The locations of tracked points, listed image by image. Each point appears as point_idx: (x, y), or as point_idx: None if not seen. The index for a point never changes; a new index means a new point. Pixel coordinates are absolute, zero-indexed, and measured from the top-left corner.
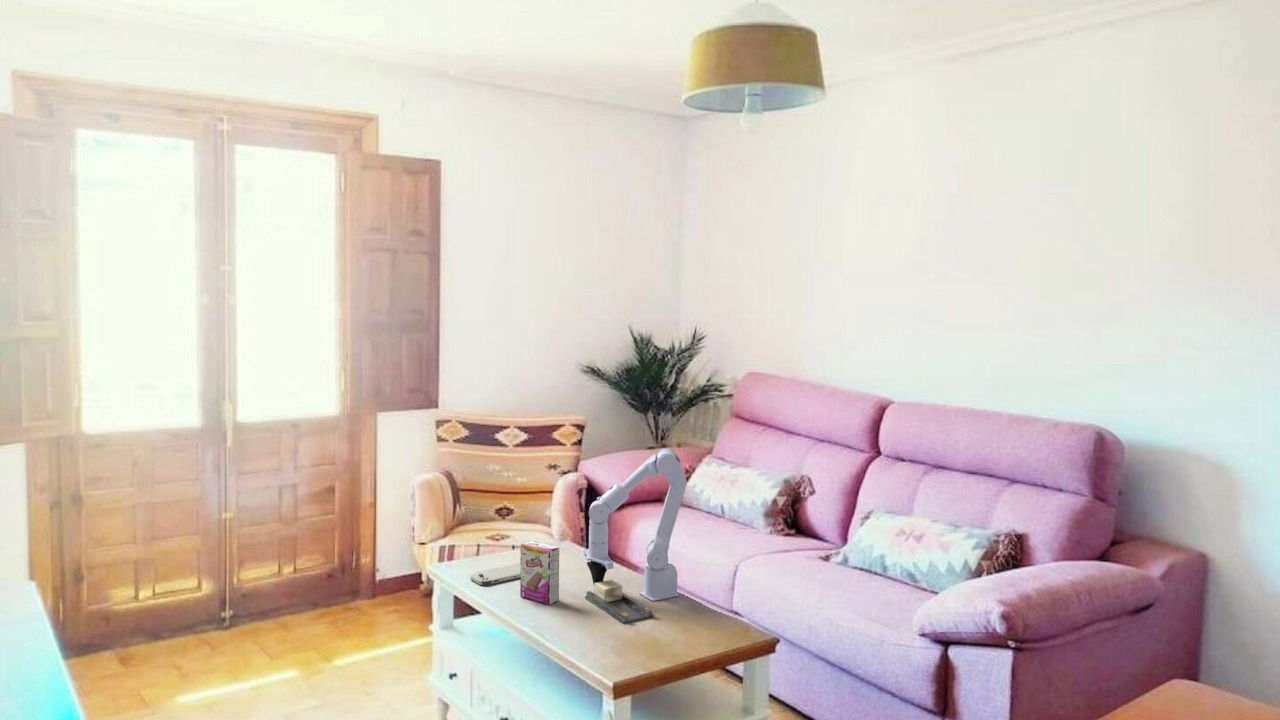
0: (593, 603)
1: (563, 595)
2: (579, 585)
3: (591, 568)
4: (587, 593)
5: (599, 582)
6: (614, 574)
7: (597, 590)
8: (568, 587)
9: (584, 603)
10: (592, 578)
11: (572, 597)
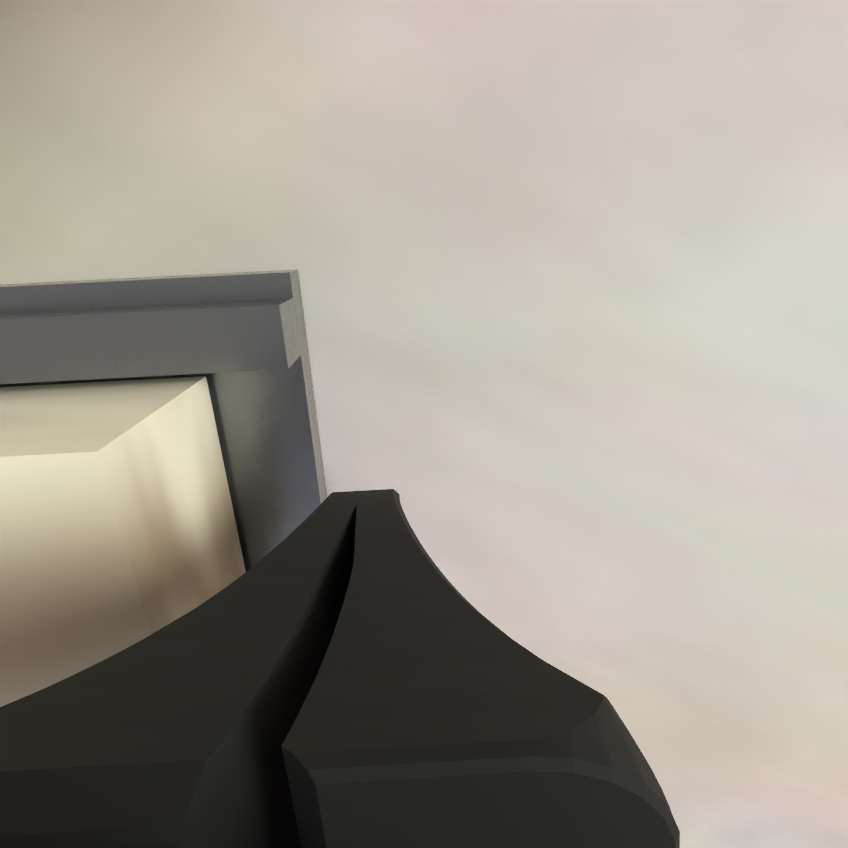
0: (51, 283)
1: (557, 16)
2: (754, 410)
3: (318, 678)
4: (254, 304)
5: (105, 548)
6: (779, 800)
7: (39, 418)
8: (789, 249)
9: (124, 178)
10: (399, 529)
11: (416, 118)
